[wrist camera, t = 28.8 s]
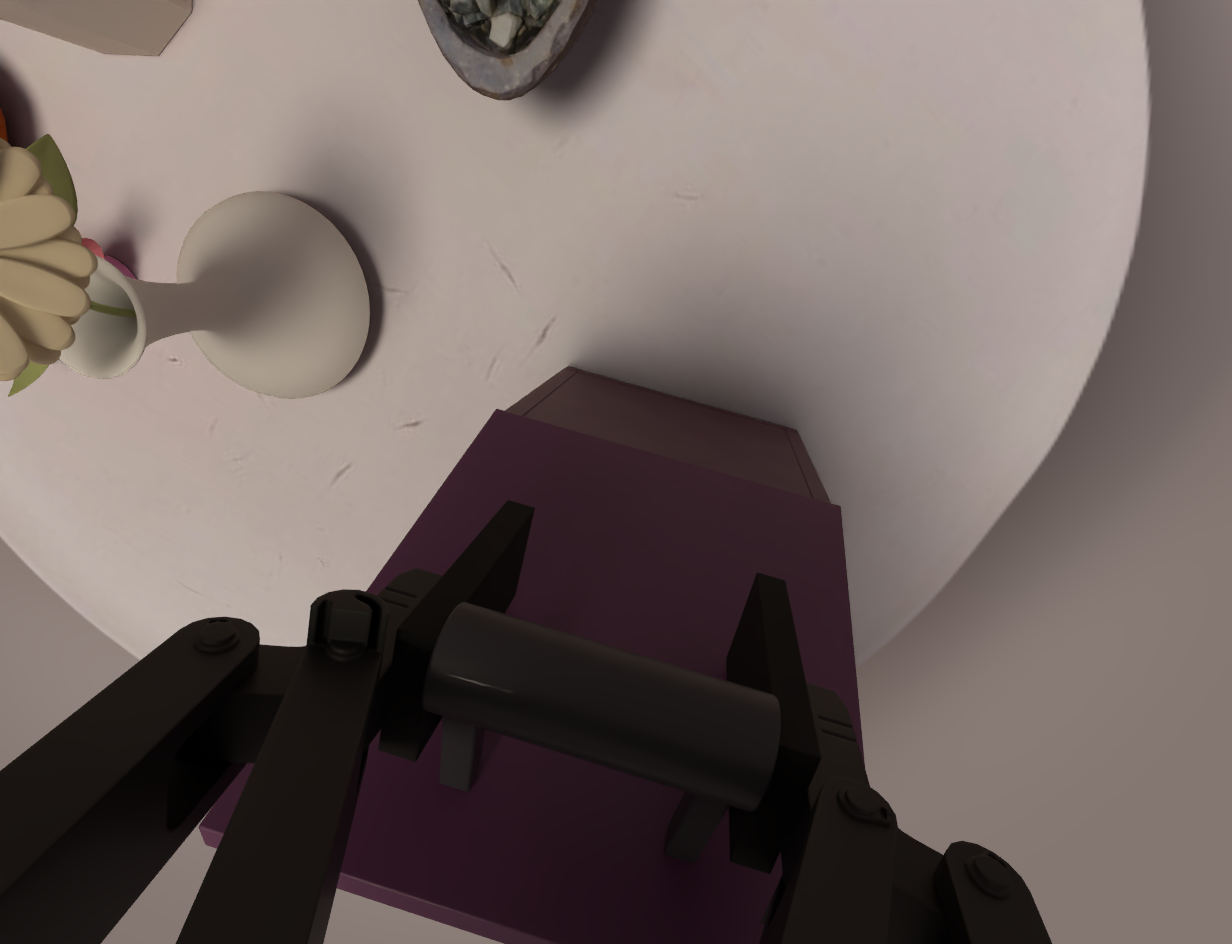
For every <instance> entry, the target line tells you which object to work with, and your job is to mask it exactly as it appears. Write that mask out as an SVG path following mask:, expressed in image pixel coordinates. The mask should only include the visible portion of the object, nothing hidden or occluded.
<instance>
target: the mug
mask: <svg viewBox="0 0 1232 944" xmlns="http://www.w3.org/2000/svg"><path fill="white" fill-rule="evenodd" d="M191 12H192V0H0V19H2V20H5V21H8V22H11V23H14V24H17V25H20V26H23V27H26V28H29V29H32V30H35V31H38V32H41V33H44V34H47V35H50V36H53V37H56V38H59V39H62V40H65V41H68V42H70V43H73V44H76V45H79V46H82V47H85V48H88V49H91V50H94V51H97V52H100V53H103V54H123V55H149V56H158V55H159V54H160V53H161V51H162V50H163V49H164V48H165V46H166V45H167V44H168V42H169V41H170V40H171V38H172V37H173V36H174V34H175V33H176V32H177V30H178V29H179V28H180V26H181V25H182V24H183V23H184V21H185V20H186V19H187V17H188V16H189V15H190V13H191Z"/></svg>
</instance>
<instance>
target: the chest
mask: <svg viewBox="0 0 1232 944" xmlns="http://www.w3.org/2000/svg"><path fill="white" fill-rule="evenodd" d="M505 411H506V412H510V413H513V414H517V415H520V416H524V417H527V418H531V419H534V420H538V421H542V422H545V423H549V424H552V425H556V426H559V427H563V428H566V429H570V430H573V431H577V432H580V433H584V434H587V435H591V436H595V437H598V438H602V439H605V440H609V441H612V442H616V443H619V444H623V445H626V446H630V447H633V448H637V449H640V450H644V451H648V452H651V453H655V454H658V455H662V456H665V457H669V458H672V459H676V460H679V461H683V462H686V463H690V464H694V465H697V466H701V467H704V468H708V469H711V470H715V471H718V472H722V473H725V474H729V475H732V476H736V477H739V478H743V479H747V480H750V481H754V482H757V483H761V484H764V485H768V486H771V487H775V488H778V489H782V490H785V491H789V492H792V493H796V494H800V495H803V496H807V497H810V498H814V499H817V500H821V501H824V502H828V503H831V502H830V500H829V498H828V495H827V493H826V491H825V489H824V487H823V485H822V483H821V481H820V478H819V476H818V474H817V472H816V470H815V468H814V466H813V464H812V461H811V459H810V457H809V455H808V453H807V451H806V449H805V446H804V444H803V442H802V440H801V438H800V436H799V434H798V432H797V430H794V429H791V428H787V427H784V426H780V425H776V424H773V423H769V422H766V421H762V420H758V419H755V418H751V417H748V416H744V415H740V414H737V413H733V412H730V411H726V410H722V409H719V408H715V407H712V406H708V405H704V404H701V403H697V402H694V401H690V400H686V399H683V398H679V397H676V396H672V395H668V394H665V393H661V392H657V391H654V390H650V389H647V388H643V387H639V386H636V385H632V384H629V383H625V382H621V381H618V380H614V379H611V378H607V377H603V376H600V375H596V374H593V373H589V372H585V371H582V370H578V369H575V368H571V367H566V368H565V369H563V370H561V371H560V372H559V373H557V374H556V375H554V376H553V377H552V378H550V379H549V380H547V381H546V382H545V383H543V384H542V385H540V386H539V387H538V388H536V389H535V390H533V391H532V392H531V393H529V394H528V395H526V396H525V397H524V398H522V399H521V400H519V401H518V402H517V403H515V404H514V405H512V406H511V407H510V408H508V409H507V410H505Z"/></svg>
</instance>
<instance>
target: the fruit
mask: <svg viewBox="0 0 1232 944" xmlns="http://www.w3.org/2000/svg"><path fill="white" fill-rule="evenodd" d="M0 138H2V139H3V140H5V141H6V142H7V143H8V138H7V130H6V123H5V119H4V115H3V113H2V110H1V108H0Z"/></svg>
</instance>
